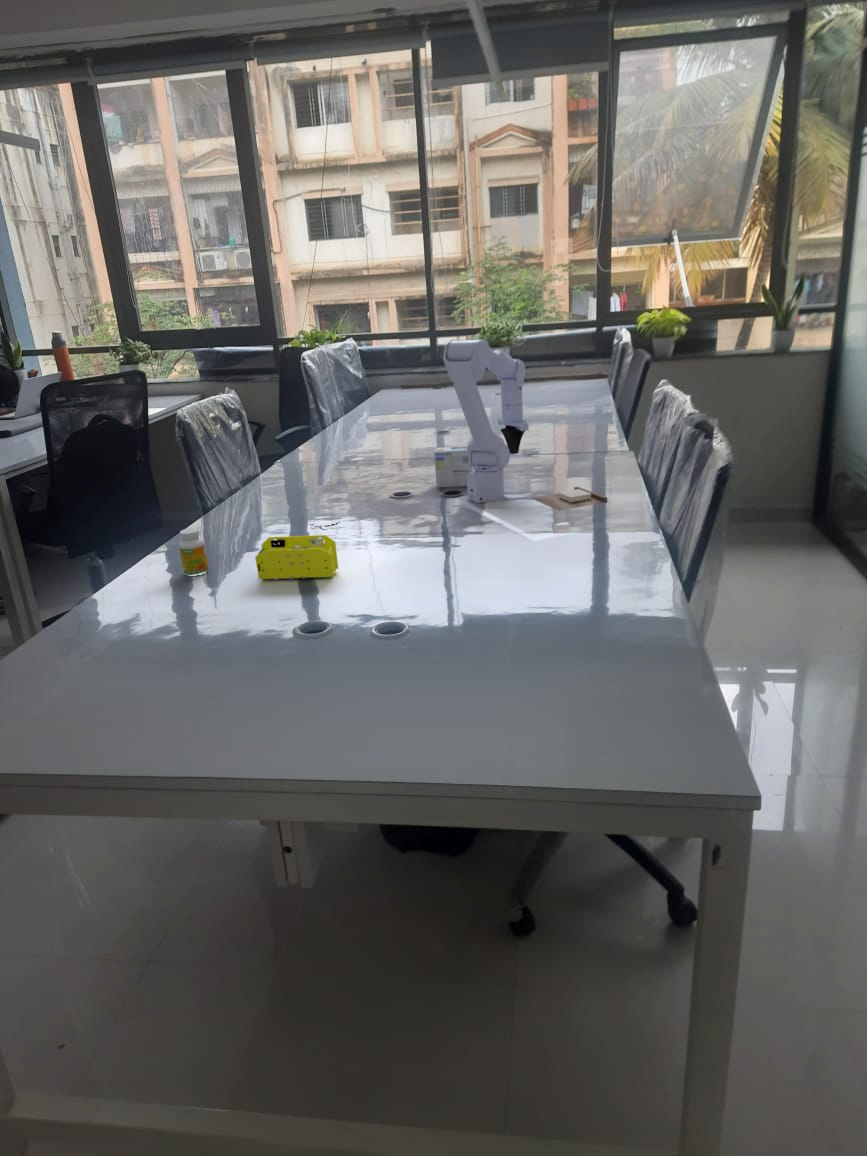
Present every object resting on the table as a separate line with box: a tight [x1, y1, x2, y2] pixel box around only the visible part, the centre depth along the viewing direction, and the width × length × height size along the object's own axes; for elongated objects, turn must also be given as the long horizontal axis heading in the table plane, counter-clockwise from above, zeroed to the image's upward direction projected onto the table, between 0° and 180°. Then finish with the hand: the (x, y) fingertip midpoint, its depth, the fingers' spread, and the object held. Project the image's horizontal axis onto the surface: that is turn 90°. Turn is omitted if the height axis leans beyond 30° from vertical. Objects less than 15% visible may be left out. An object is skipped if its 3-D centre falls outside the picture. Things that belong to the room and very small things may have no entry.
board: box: [531, 486, 608, 511], centre depth 204 cm, size 14×14×2 cm
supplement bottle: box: [178, 527, 210, 575], centre depth 172 cm, size 5×5×10 cm
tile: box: [558, 489, 591, 502], centre depth 204 cm, size 2×6×6 cm
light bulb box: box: [433, 445, 474, 488], centre depth 232 cm, size 11×7×11 cm, turn 84°
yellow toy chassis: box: [254, 534, 339, 580], centre depth 166 cm, size 16×6×8 cm, turn 84°
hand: (513, 453), depth 221 cm, fingers closed
